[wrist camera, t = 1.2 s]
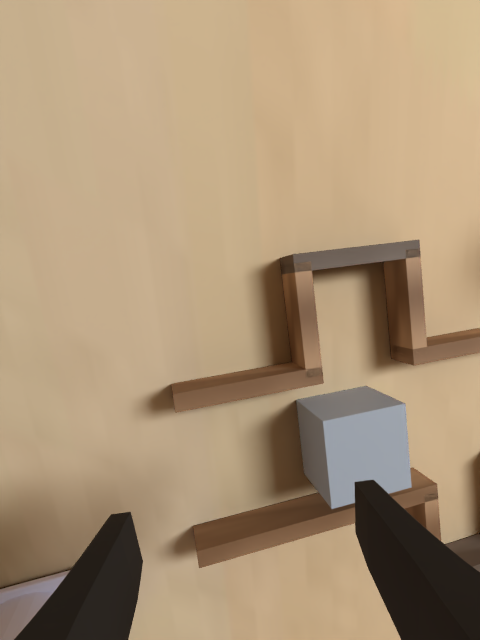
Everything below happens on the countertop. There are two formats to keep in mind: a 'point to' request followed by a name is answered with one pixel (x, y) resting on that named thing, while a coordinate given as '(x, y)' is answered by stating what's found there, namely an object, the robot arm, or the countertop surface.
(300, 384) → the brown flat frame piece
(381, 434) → the block
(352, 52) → the countertop surface
